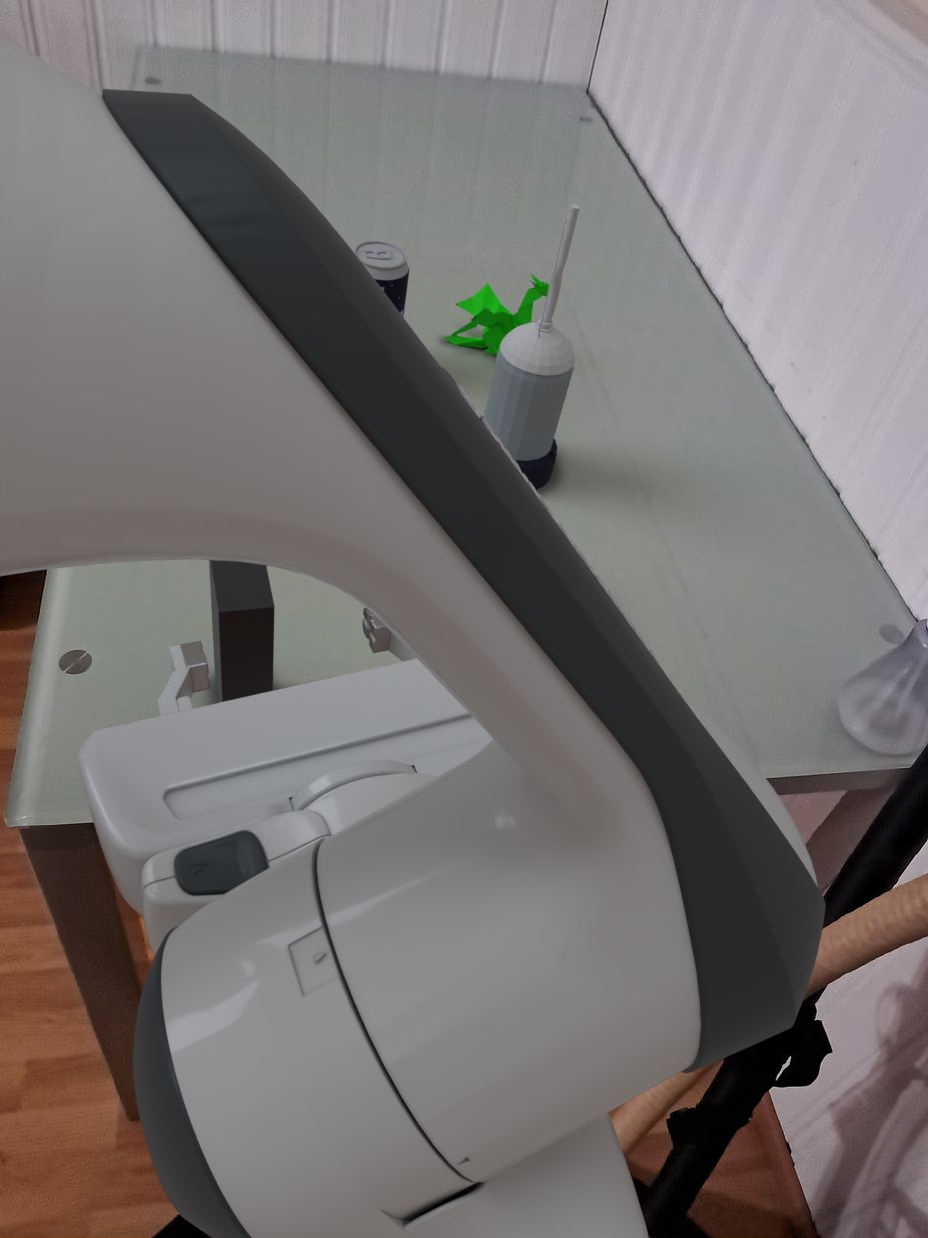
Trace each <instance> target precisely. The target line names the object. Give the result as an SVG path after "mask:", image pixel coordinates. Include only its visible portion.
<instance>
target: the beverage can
mask: <svg viewBox="0 0 928 1238" xmlns="http://www.w3.org/2000/svg"><path fill="white" fill-rule="evenodd" d="M354 253H355V254H356V256H357V257H358V258H359V260H360V261H361V262H362V263H363V265H364V266H365V267H366V269H367V270H368V271H369V273H370V274H371V275H372V277H373V278H374V279H375V281H376V282H377V283H378V284H379V286H380V287H381V288H382V290H383V291H384V292H385V294H386V295H387V296H388V298H389V299H390V300H391V302H392V303H393V304H394V306H395V307H396V308H397V310H398V311H399V312H400V314H401V315H402V316H403V318H404V316H405V309H406V300H407V292H408V286H409V285H408V282H409V277H410V267H409V263H408V262H407V260H408V256H407V254H406V252H405V251H404V250H403V249H402V248H401V247H399V246H398V245H395V244H393V243H390V242H387V241H382V240H368V241H364V242H361V243H359V244H358V245H357V246H355V249H354Z"/></svg>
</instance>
